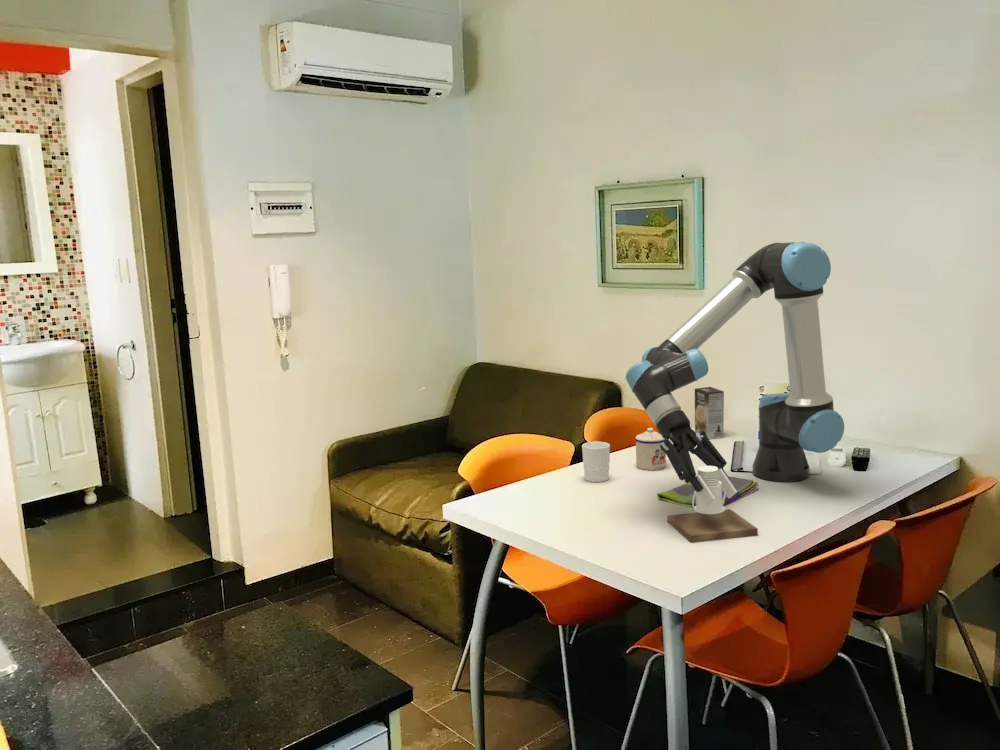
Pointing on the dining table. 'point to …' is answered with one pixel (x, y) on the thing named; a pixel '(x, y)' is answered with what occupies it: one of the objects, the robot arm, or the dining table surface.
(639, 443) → the teacup with lid
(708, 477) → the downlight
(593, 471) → the white cup
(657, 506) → the dining table surface
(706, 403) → the coffee box
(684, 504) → the dish towel
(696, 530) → the walnut board
